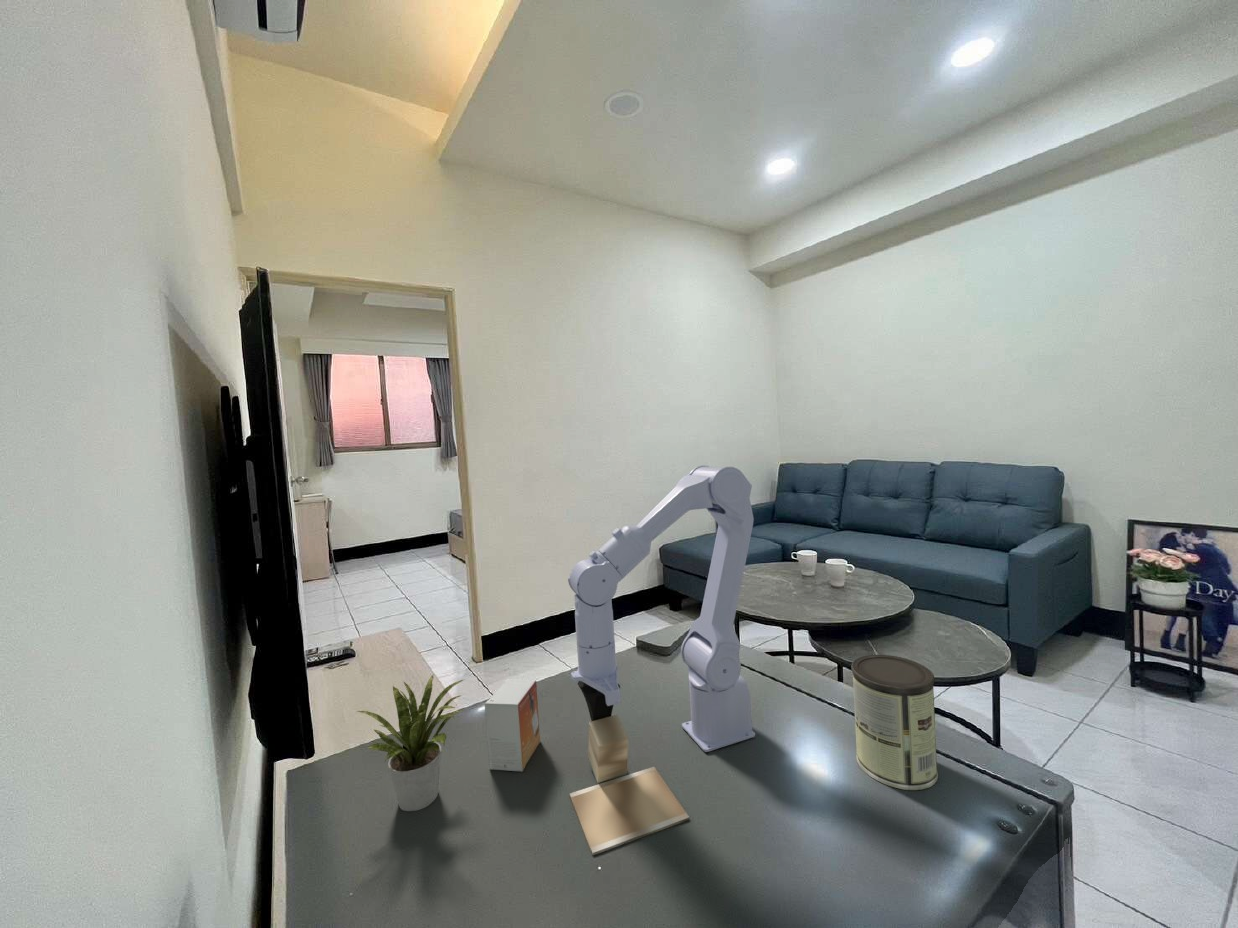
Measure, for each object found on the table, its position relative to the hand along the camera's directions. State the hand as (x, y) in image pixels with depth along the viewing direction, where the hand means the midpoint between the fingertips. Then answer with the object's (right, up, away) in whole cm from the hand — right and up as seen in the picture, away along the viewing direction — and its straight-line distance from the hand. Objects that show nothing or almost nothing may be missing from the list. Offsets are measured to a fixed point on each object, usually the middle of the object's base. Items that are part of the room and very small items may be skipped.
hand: (601, 728), depth 74 cm
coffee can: (+42, -3, -4) cm, 43 cm away
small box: (-14, -7, +4) cm, 16 cm away
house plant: (-24, -8, -4) cm, 26 cm away
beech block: (+1, -5, -1) cm, 5 cm away
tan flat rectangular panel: (+4, -6, -9) cm, 11 cm away
